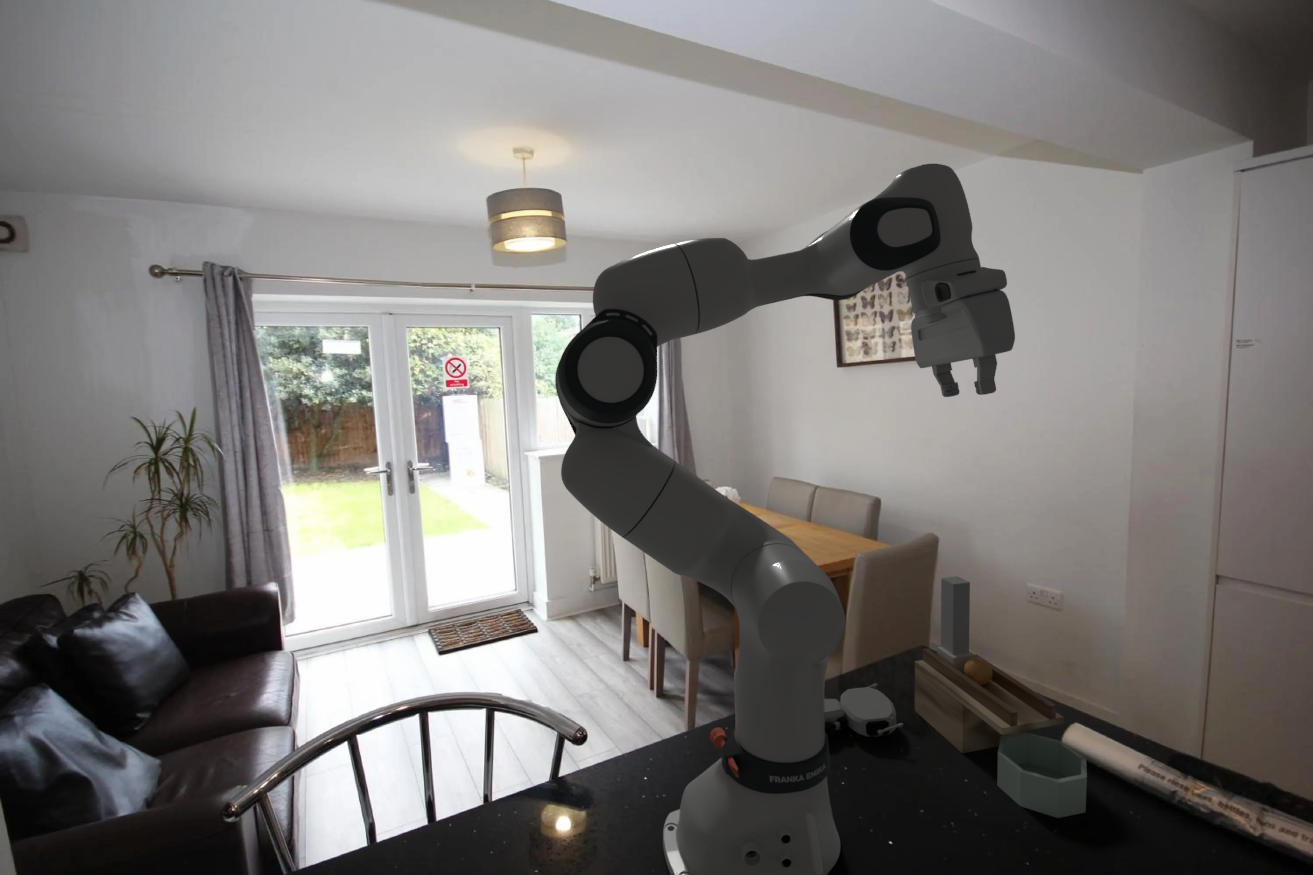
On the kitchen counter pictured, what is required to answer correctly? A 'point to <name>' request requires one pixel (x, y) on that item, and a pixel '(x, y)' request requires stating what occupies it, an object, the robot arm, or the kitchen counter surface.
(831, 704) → the robot toy
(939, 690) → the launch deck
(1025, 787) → the green octagonal bowl
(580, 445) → the robot arm
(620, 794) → the kitchen counter surface
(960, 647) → the tall post on base
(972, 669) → the ball
